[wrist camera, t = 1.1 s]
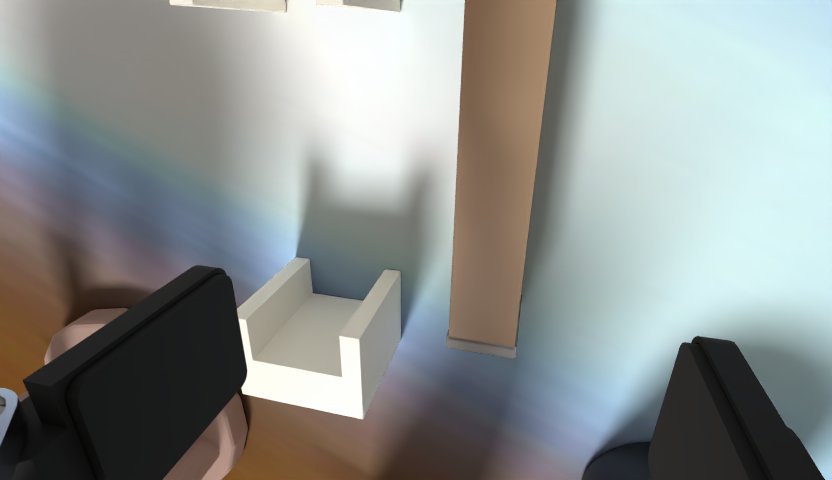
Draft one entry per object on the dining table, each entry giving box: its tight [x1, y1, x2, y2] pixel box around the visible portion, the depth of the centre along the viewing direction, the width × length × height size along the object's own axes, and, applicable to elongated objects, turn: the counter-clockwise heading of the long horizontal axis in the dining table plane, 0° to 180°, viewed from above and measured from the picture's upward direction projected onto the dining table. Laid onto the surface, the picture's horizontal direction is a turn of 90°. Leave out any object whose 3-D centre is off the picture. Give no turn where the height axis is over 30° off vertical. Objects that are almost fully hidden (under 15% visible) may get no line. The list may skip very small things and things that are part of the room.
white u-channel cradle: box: [169, 0, 401, 419], centre depth 23 cm, size 7×24×7 cm, turn 0°
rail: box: [446, 0, 557, 359], centre depth 22 cm, size 3×16×5 cm, turn 0°
